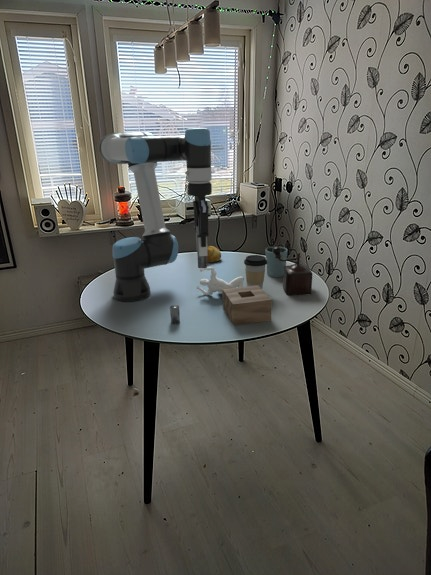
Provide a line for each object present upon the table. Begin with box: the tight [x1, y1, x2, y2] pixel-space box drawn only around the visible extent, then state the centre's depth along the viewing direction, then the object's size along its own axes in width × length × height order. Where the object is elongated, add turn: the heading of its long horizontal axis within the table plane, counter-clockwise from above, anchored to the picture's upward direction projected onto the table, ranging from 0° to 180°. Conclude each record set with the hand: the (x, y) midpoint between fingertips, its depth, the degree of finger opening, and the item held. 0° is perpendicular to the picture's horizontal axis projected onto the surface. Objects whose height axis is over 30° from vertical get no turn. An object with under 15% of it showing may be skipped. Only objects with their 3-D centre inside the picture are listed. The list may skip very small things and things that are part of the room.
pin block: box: [222, 285, 273, 326], centre depth 138 cm, size 14×14×8 cm
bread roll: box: [207, 245, 222, 263], centre depth 200 cm, size 13×10×8 cm
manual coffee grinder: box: [272, 246, 313, 296], centre depth 157 cm, size 16×11×18 cm
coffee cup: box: [243, 254, 267, 290], centre depth 156 cm, size 9×9×15 cm
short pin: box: [169, 304, 181, 325], centre depth 134 cm, size 3×3×6 cm
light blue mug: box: [264, 246, 288, 278], centre depth 176 cm, size 10×10×12 cm
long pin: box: [195, 226, 208, 269], centre depth 126 cm, size 3×3×14 cm
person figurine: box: [196, 266, 245, 296], centre depth 153 cm, size 13×13×18 cm
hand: (202, 253), depth 127 cm, fingers closed on long pin, 3 cm apart
